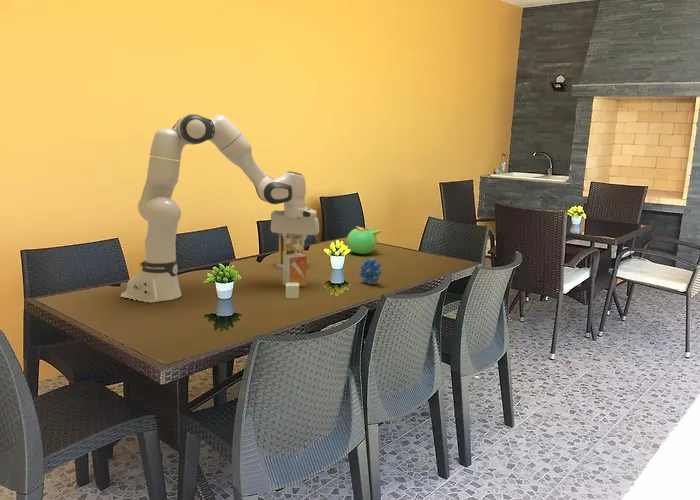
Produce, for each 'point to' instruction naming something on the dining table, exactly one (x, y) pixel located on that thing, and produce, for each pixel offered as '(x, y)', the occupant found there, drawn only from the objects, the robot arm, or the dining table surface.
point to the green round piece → (362, 240)
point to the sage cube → (292, 290)
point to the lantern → (287, 252)
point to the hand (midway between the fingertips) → (294, 244)
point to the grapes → (370, 271)
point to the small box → (294, 269)
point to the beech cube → (294, 243)
